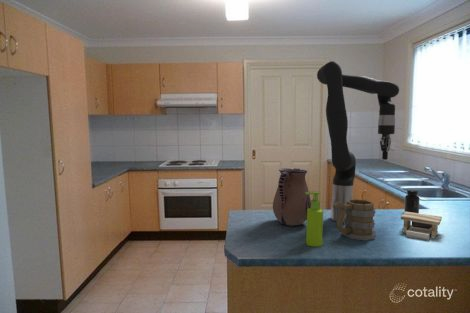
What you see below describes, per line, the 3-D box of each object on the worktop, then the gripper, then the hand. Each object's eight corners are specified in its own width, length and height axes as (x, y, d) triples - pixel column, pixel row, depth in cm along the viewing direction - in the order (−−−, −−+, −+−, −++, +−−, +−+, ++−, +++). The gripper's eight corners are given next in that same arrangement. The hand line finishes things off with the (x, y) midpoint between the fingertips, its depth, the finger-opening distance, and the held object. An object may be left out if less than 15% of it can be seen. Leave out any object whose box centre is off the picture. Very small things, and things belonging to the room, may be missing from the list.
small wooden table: (438, 238, 132) (439, 222, 131) (399, 231, 140) (400, 216, 139) (440, 232, 141) (441, 216, 140) (404, 225, 149) (405, 211, 148)
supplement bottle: (417, 212, 175) (418, 189, 174) (420, 215, 169) (421, 192, 168) (403, 210, 177) (404, 188, 176) (405, 213, 171) (406, 191, 170)
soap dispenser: (301, 241, 126) (303, 190, 125) (318, 241, 127) (320, 190, 125) (306, 246, 121) (307, 193, 119) (324, 246, 121) (326, 193, 119)
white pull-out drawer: (428, 240, 129) (428, 234, 129) (405, 236, 134) (406, 231, 134) (431, 231, 142) (431, 225, 141) (410, 227, 146) (410, 222, 146)
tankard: (360, 229, 143) (361, 195, 142) (382, 238, 131) (384, 201, 130) (321, 233, 136) (322, 198, 135) (341, 243, 124) (342, 205, 123)
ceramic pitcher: (314, 220, 155) (316, 168, 153) (304, 233, 136) (305, 173, 134) (278, 216, 163) (279, 166, 160) (264, 227, 143) (265, 171, 141)
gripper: (391, 124, 154) (390, 160, 156) (397, 124, 165) (395, 159, 166) (375, 124, 159) (373, 159, 160) (381, 124, 169) (380, 158, 171)
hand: (384, 159), depth 163 cm, fingers closed
